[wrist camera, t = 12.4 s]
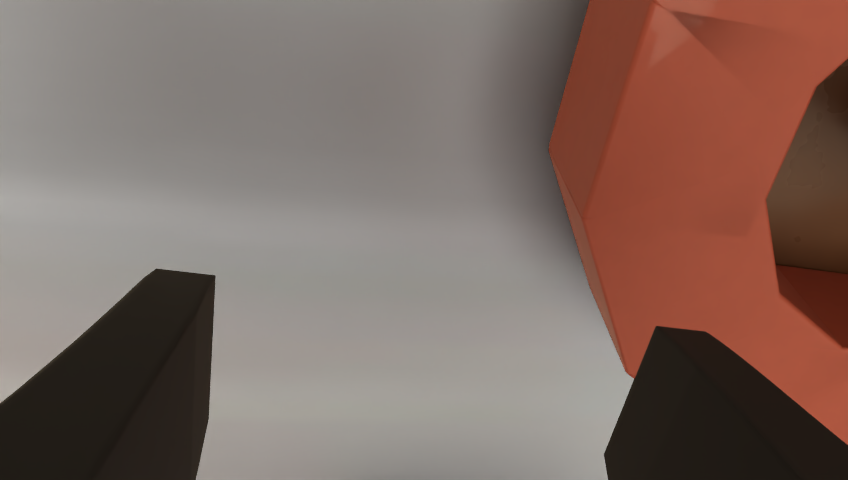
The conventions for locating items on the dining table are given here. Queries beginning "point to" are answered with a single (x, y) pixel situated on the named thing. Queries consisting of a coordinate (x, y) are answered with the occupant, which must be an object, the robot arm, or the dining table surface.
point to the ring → (702, 181)
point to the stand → (815, 185)
